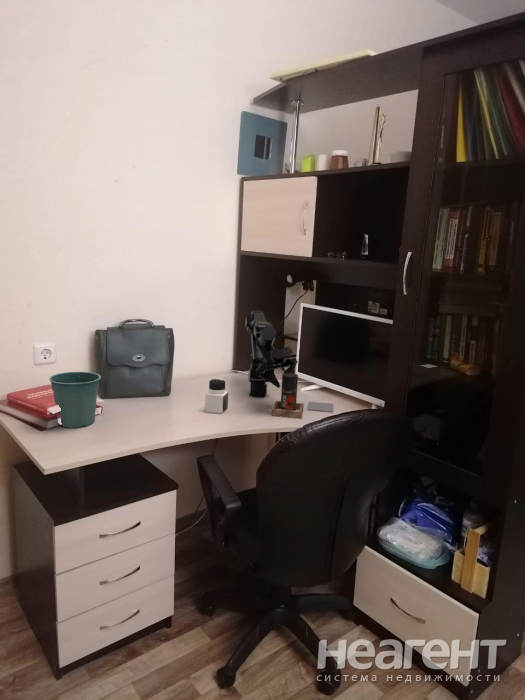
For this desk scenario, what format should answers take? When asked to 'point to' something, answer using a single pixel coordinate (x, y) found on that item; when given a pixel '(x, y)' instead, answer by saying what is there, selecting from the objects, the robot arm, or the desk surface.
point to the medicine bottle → (216, 397)
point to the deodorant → (289, 391)
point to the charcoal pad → (320, 407)
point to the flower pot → (76, 397)
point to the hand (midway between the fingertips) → (287, 385)
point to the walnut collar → (287, 412)
